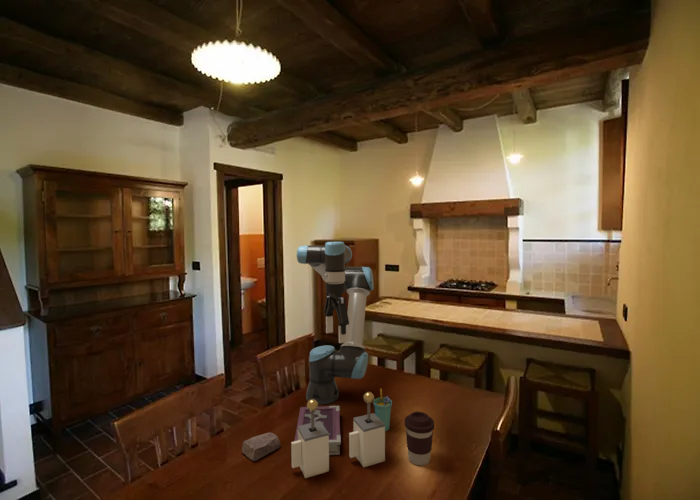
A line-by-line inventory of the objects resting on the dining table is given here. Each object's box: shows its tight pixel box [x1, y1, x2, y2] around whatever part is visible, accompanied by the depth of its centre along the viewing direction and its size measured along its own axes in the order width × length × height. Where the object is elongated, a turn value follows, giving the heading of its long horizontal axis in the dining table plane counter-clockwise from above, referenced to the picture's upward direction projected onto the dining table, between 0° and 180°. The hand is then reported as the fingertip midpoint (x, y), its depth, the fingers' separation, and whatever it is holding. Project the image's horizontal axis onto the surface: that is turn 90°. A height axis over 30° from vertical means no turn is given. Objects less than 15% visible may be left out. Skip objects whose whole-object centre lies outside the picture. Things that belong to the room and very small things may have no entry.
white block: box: [348, 412, 386, 468], centre depth 121 cm, size 8×11×13 cm
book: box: [293, 405, 342, 456], centre depth 136 cm, size 25×16×5 cm, turn 3°
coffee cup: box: [403, 411, 435, 466], centre depth 120 cm, size 10×10×15 cm
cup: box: [372, 388, 393, 432], centre depth 139 cm, size 14×8×15 cm, turn 15°
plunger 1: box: [306, 399, 319, 432], centre depth 116 cm, size 5×5×21 cm
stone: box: [241, 432, 282, 462], centre depth 126 cm, size 12×9×5 cm
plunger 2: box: [363, 391, 375, 424], centre depth 121 cm, size 5×5×21 cm
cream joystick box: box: [290, 421, 330, 479], centre depth 116 cm, size 8×11×13 cm
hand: (335, 337), depth 136 cm, fingers open, 13 cm apart
